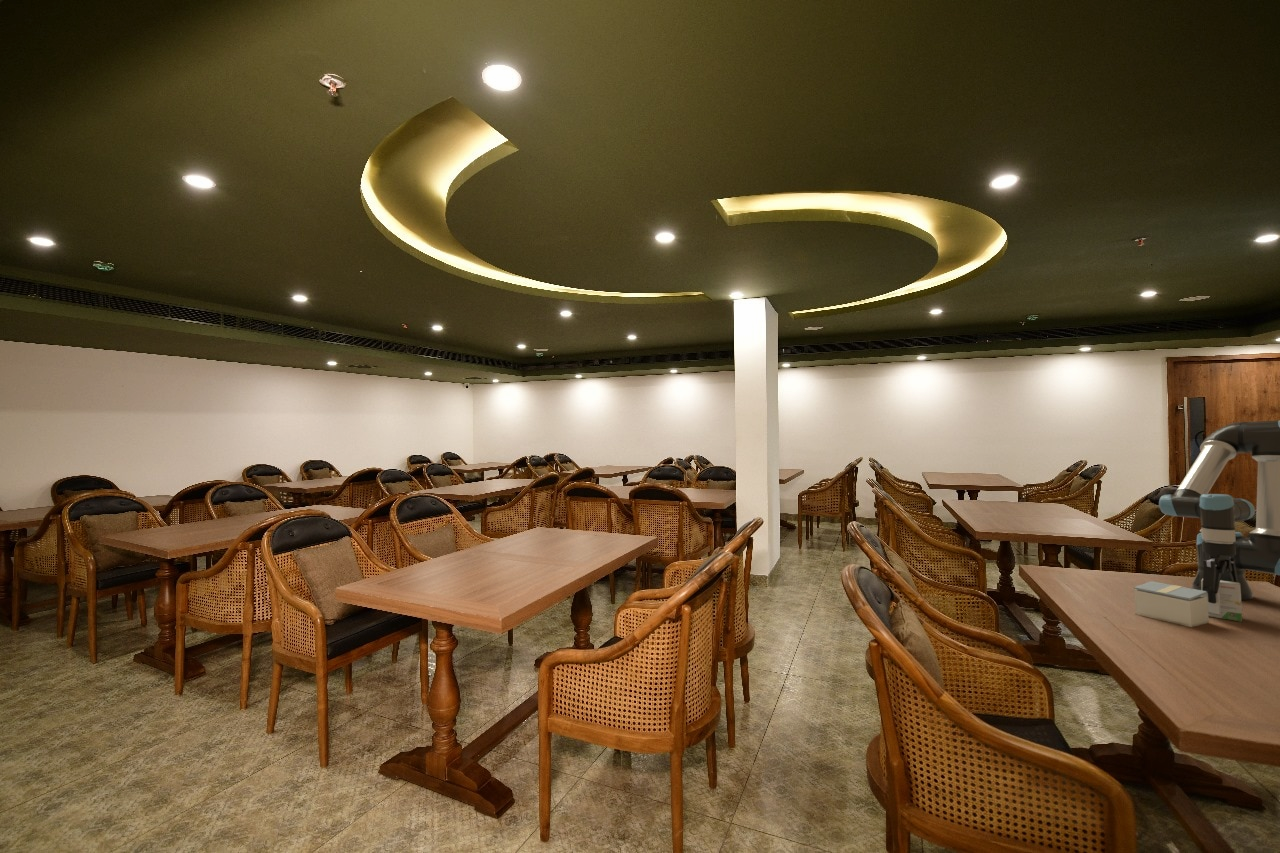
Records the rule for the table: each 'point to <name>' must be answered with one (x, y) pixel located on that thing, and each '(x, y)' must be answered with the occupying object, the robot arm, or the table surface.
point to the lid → (1170, 590)
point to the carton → (1172, 608)
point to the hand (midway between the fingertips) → (1222, 610)
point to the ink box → (1228, 601)
